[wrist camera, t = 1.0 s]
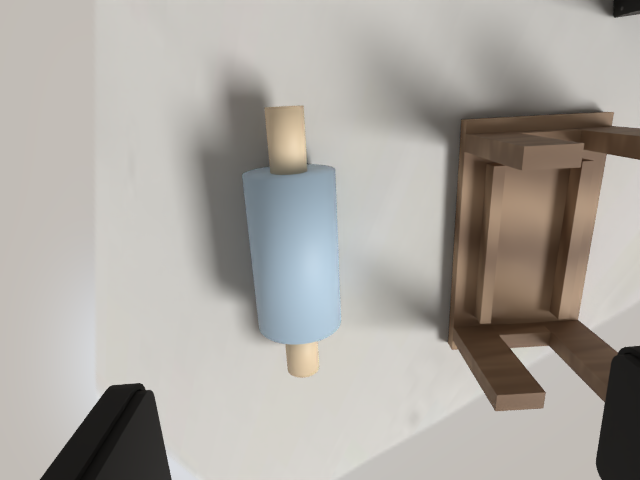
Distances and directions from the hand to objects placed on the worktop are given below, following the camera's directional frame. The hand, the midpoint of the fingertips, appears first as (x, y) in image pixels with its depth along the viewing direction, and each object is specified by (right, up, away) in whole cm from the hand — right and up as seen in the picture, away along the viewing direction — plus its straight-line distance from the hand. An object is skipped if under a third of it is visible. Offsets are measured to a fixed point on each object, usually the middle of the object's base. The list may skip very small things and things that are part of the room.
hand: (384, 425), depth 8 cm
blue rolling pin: (-3, +4, +23) cm, 23 cm away
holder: (+14, +4, +23) cm, 27 cm away
